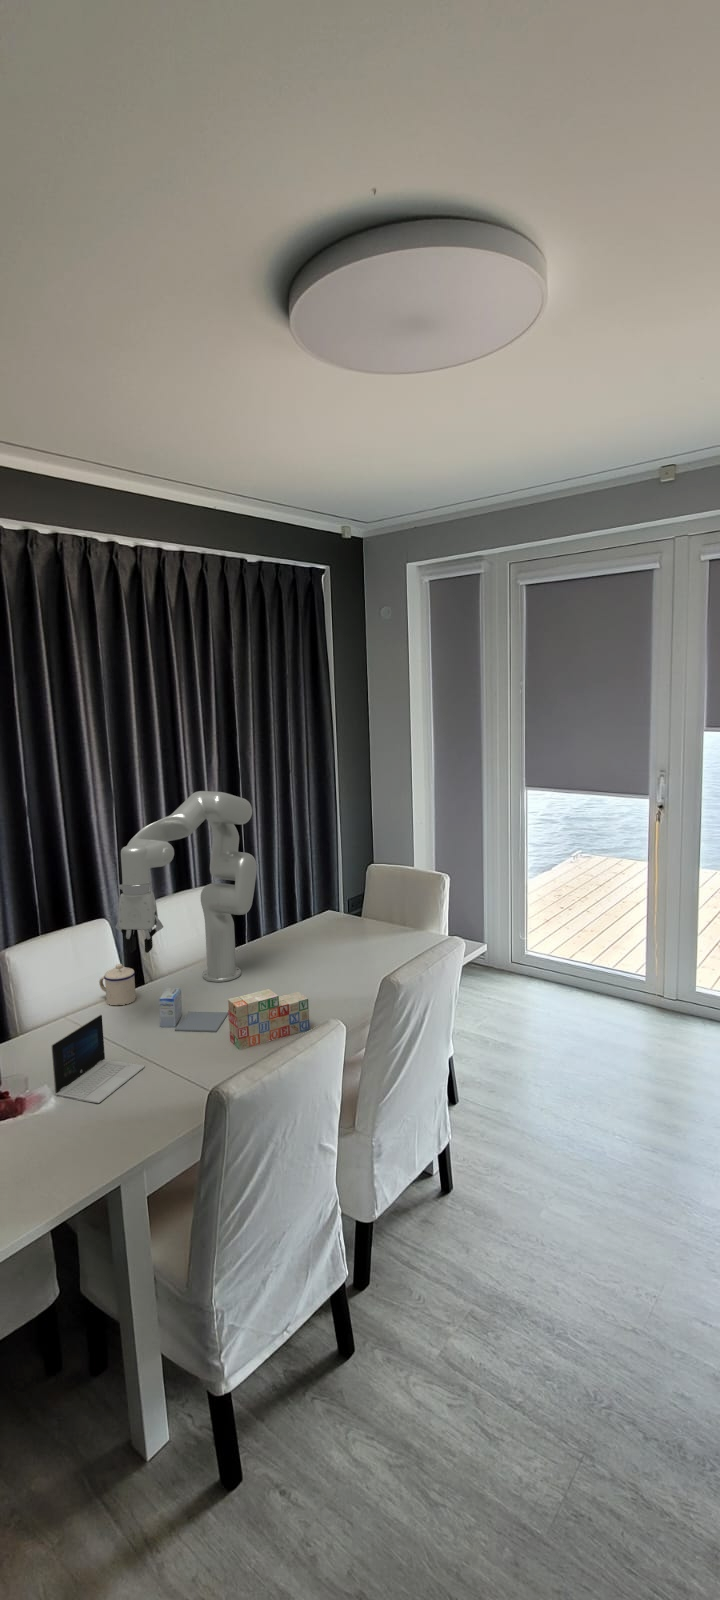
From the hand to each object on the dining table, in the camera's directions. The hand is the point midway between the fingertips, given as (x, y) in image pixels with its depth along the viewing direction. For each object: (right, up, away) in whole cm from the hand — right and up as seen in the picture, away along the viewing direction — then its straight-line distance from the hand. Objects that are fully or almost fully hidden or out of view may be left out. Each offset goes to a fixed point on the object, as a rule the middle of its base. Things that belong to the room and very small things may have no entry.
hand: (140, 950), depth 212 cm
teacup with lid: (-13, -19, +18) cm, 29 cm away
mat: (+17, -21, +1) cm, 27 cm away
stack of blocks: (+38, -22, -8) cm, 45 cm away
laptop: (-1, -26, -31) cm, 40 cm away
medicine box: (+8, -21, +2) cm, 23 cm away
